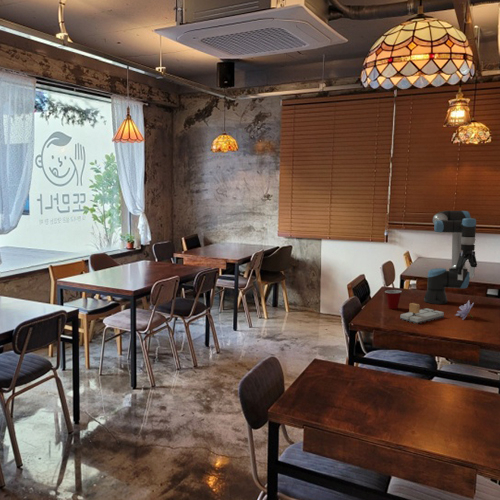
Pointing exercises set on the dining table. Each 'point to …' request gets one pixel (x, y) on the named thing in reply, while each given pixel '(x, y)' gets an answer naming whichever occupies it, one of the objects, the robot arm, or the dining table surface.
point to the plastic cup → (393, 298)
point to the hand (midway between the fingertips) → (465, 278)
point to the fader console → (422, 316)
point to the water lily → (465, 310)
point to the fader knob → (414, 308)
